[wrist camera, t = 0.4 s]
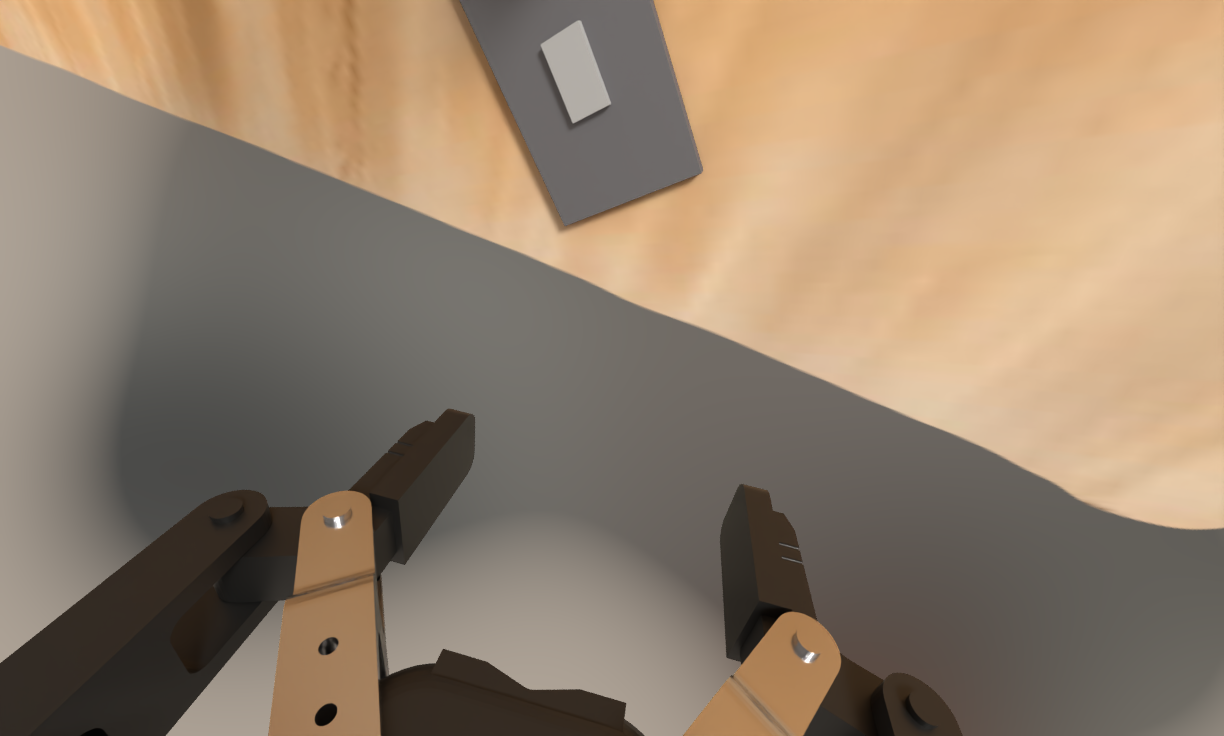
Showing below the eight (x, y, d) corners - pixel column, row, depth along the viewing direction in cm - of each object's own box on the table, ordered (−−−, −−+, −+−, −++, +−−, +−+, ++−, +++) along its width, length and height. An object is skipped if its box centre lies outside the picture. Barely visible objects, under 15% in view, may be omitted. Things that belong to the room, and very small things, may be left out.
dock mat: (452, -31, 29) (438, -34, 28) (605, -161, 24) (596, -172, 22) (569, 222, 37) (562, 228, 36) (703, 169, 32) (700, 175, 31)
